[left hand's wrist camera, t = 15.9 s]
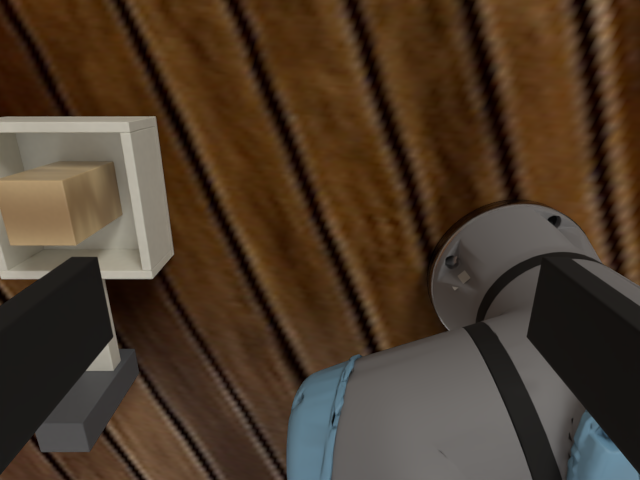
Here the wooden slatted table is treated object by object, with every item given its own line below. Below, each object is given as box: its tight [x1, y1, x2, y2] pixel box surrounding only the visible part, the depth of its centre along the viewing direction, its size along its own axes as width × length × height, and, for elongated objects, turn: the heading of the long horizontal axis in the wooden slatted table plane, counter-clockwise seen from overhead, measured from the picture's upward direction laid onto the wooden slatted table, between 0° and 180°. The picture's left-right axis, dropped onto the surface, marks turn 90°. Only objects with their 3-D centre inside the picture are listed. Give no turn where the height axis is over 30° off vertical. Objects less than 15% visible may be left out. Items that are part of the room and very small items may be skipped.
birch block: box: [0, 161, 123, 246], centre depth 34 cm, size 5×5×8 cm
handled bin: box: [0, 116, 174, 452], centre depth 35 cm, size 26×13×12 cm, turn 0°
